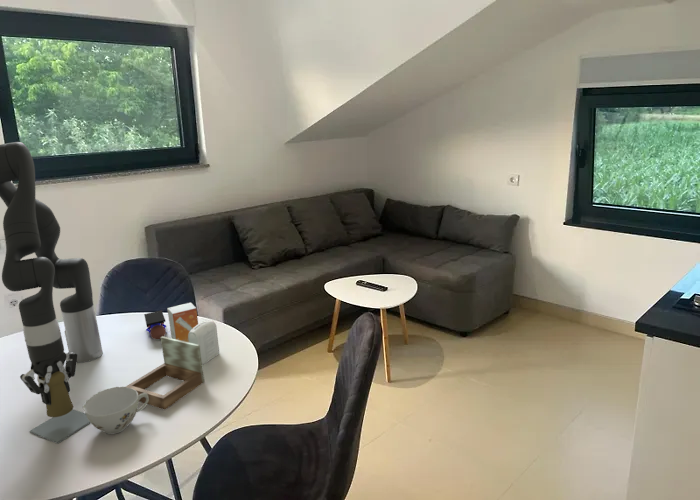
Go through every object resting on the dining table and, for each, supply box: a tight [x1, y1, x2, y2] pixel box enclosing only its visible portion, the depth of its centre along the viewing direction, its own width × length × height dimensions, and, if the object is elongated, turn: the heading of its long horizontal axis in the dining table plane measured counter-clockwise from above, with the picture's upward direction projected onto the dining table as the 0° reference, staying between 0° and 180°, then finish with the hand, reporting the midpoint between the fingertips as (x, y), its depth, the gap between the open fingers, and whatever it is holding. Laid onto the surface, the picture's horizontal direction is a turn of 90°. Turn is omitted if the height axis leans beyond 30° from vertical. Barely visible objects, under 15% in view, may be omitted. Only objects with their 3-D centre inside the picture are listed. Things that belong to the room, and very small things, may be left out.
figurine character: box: [143, 309, 167, 340], centre depth 183 cm, size 7×8×15 cm
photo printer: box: [188, 320, 220, 366], centre depth 162 cm, size 10×4×12 cm, turn 155°
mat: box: [29, 408, 91, 444], centre depth 133 cm, size 11×11×1 cm
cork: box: [41, 371, 74, 418], centre depth 130 cm, size 6×6×11 cm
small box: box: [167, 302, 199, 342], centre depth 174 cm, size 8×6×13 cm
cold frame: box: [125, 336, 205, 411], centre depth 146 cm, size 14×15×12 cm
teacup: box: [82, 386, 149, 435], centre depth 131 cm, size 15×12×8 cm
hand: (57, 399), depth 131 cm, fingers closed on cork, 4 cm apart
